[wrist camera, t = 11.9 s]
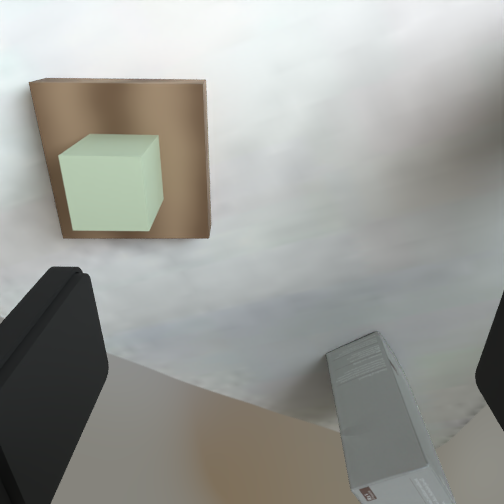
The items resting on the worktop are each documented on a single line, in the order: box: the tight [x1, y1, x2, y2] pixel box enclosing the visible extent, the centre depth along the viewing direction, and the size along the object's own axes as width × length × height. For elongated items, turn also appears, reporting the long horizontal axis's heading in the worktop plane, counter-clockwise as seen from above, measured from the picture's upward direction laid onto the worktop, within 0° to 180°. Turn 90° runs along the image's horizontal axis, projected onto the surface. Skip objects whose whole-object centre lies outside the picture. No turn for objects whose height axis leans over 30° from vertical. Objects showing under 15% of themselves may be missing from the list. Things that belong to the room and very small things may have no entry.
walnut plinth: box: [29, 78, 211, 238], centre depth 33 cm, size 12×12×3 cm
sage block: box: [58, 134, 164, 231], centre depth 29 cm, size 5×5×6 cm
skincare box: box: [326, 332, 456, 504], centre depth 39 cm, size 8×7×16 cm
